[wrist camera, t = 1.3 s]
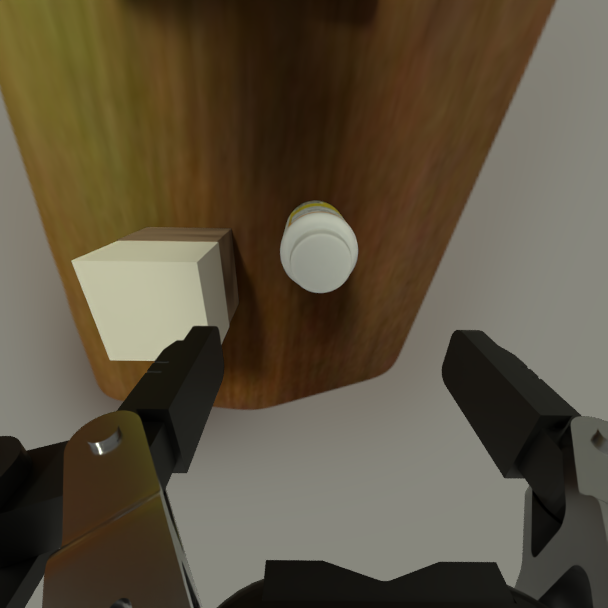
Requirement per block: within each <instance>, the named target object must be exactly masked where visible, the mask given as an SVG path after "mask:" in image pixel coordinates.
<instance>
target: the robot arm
mask: <svg viewBox="0 0 608 608" xmlns="http://www.w3.org/2000/svg"><path fill="white" fill-rule="evenodd" d="M147 371H148V372H147V373H145V374H144V376H143V377H142V378H141V380H140V381H139V382H138V383H137V385H136V386H135V387H134V389H133V390H132V391H131V393H130V394H129V395H128V397H127V398H126V399H125V401H124V402H123V403H122V405H121V406H120V407H119V409H118V410H117V411H114V412H110V413H107V414H104V415H102V416H99V417H97V418H95V419H93V420H91V421H90V422H88V423H87V424H85V425H84V426H82V427H81V428H80V429H79V430H78V431H77V432H76V433H75V434H74V435H73V436H72V437H71V439H70V440H68V441H65V442H60V443H56V444H52V445H49V446H44V447H40V448H36V449H32V450H28V451H26V450H25V448H24V447H23V445H22V444H21V443H20V441H19V440H18V439H17V438H15V437H11V436H0V608H25V606H26V604H27V603H28V601H29V599H30V598H31V596H32V594H33V592H34V591H35V589H36V587H37V586H38V584H39V582H40V581H41V579H42V577H43V575H44V584H43V601H42V608H202V605H201V602H200V598H199V595H198V593H197V589H196V586H195V583H194V580H193V577H192V573H191V570H190V567H189V564H188V561H187V558H186V554H185V551H184V548H183V545H182V541H181V537H180V534H179V531H178V527H177V524H176V521H175V517H174V514H173V511H172V507H171V504H170V501H169V497H168V494H167V491H166V486H167V484H168V481H169V479H170V477H171V474H172V473H187V472H188V469H189V466H190V463H191V461H192V458H193V456H194V453H195V451H196V448H197V445H198V443H199V440H200V437H201V435H202V432H203V429H204V427H205V424H206V422H207V419H208V416H209V414H210V411H211V409H212V406H213V403H214V401H215V398H216V395H217V393H218V390H219V388H220V385H221V382H222V379H223V374H224V360H223V353H222V346H221V339H220V332H219V329H218V327H217V326H193V327H192V328H191V330H190V331H189V333H188V334H187V335H186V337H185V338H184V340H176V341H175V342H174V343H172V344H171V345H169V346H168V347H166V348H165V349H163V351H162V352H161V353H160V355H159V356H158V357H157V359H156V360H155V363H153V364H152V365H151V366H150V368H149V369H148V370H147ZM442 378H443V381H444V384H445V385H446V387H447V389H448V390H449V392H450V393H451V395H452V396H453V398H454V400H455V401H456V403H457V404H458V406H459V407H460V409H461V411H462V412H463V414H464V415H465V417H466V418H467V420H468V421H469V423H470V424H471V426H472V428H473V429H474V431H475V432H476V434H477V436H478V437H479V439H480V440H481V442H482V444H483V445H484V447H485V448H486V450H487V451H488V453H489V455H490V456H491V458H492V459H493V461H494V462H495V464H496V466H497V467H498V469H499V470H500V472H501V473H502V475H503V477H504V478H525V479H526V481H527V482H528V484H529V487H528V488H527V490H526V492H525V506H524V529H523V553H522V566H521V570H520V574H519V577H518V579H517V582H516V585H515V588H513V587H511V586H508V585H507V584H506V582H505V580H504V578H503V576H502V574H501V572H500V570H499V568H498V566H497V564H496V562H438V563H435V564H433V565H430V566H428V567H425V568H422V569H419V570H417V571H414V572H412V573H409V574H406V575H404V576H401V577H398V578H396V579H393V580H391V581H380V580H377V579H374V578H371V577H368V576H365V575H362V574H359V573H357V572H353V571H351V570H348V569H345V568H342V567H339V566H336V565H334V564H331V563H328V562H325V561H302V560H301V561H299V560H266V565H265V576H264V579H262V580H259V581H257V582H254V583H252V584H250V585H248V586H246V587H244V588H242V589H241V590H239V591H237V592H236V593H235V594H233V595H232V596H230V597H229V598H228V599H226V600H225V601H224V602H223V603H222V604H221V605H219V606H218V607H217V608H608V421H604V420H602V419H598V418H594V417H588V416H581V415H580V414H579V413H578V412H577V411H576V410H575V409H574V408H573V407H571V406H570V405H569V404H568V403H567V402H566V401H565V400H563V398H561V397H560V396H559V395H558V394H557V393H556V392H555V391H554V390H553V389H552V388H550V387H549V386H548V385H547V384H546V383H545V382H544V381H543V380H542V379H539V378H538V376H537V375H536V374H535V373H534V372H533V371H532V370H531V369H528V368H527V366H526V365H525V364H524V363H523V362H522V361H521V360H520V359H519V358H517V357H516V356H515V355H514V354H512V353H510V352H509V351H507V350H505V349H503V348H501V347H500V346H498V345H497V344H496V343H495V342H494V341H493V340H492V339H490V338H489V337H488V336H487V335H486V334H485V333H484V332H483V331H480V330H456V331H454V333H453V334H452V336H451V339H450V343H449V346H448V349H447V353H446V356H445V359H444V362H443V365H442ZM59 548H60V549H59Z"/></svg>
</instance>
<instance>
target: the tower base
mask: <svg viewBox="0 0 608 608" xmlns="http://www.w3.org/2000/svg"><path fill="white" fill-rule="evenodd" d="M117 241H177V242H218V243H219V250H220V258H221V266H222V273H223V281H224V289H225V297H226V304H227V312H228V320H229V324H230V322H231V320H232V317H233V315H234V313H235V311H236V309H237V306H238V304H239V297H238V287H237V278H236V268H235V259H234V249H233V239H232V230H231V228H172V227H147V228H144V229H142V230H139V231H137V232H135V233H132V234H130V235H127V236H125V237H123V238H120V239H118V240H117Z"/></svg>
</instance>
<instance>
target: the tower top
mask: <svg viewBox="0 0 608 608" xmlns="http://www.w3.org/2000/svg"><path fill="white" fill-rule="evenodd" d="M72 264H73V266H74V269H75V271H76V274H77V276H78V279H79V282H80V284H81V287H82V289H83V292H84V294H85V297H86V300H87V302H88V305H89V307H90V310H91V312H92V315H93V318H94V320H95V323H96V325H97V328H98V330H99V333H100V336H101V338H102V341H103V343H104V346H105V348H106V351H107V354H108V356H109V359H110V360H137V361H155V360H156V359H157V357H158V356H159V355H160V353H161V352H162V351H163V349H165V348H166V347H168V346H169V345H171V344H172V343H174V342H175V341H176V340H184V338H185V337H186V335H187V334H188V333H189V331H190V330H191V328H192V327H193V326H217V327H218V329H219V332H220V339H221V345H222V342H223V340H224V338H225V336H226V333H227V331H228V329H229V320H228V312H227V304H226V297H225V289H224V281H223V273H222V266H221V258H220V250H219V243H218V242H177V241H116V242H114V243H112V244H109V245H107V246H105V247H102V248H100V249H98V250H95V251H93V252H91V253H88V254H86V255H84V256H81V257H79V258H76V259H74V260H72Z"/></svg>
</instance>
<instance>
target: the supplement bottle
mask: <svg viewBox="0 0 608 608" xmlns="http://www.w3.org/2000/svg"><path fill="white" fill-rule="evenodd" d="M357 256H358V244H357V240H356V237H355V234H354V233H353V231H352V229H351V228H350V226H349V225H348V224H347V222H346V221H345V220H344V218H343V217H342V216H341V214H340V213H339V212H338V210H337V209H336V208H334V207H333V206H332V205H330V204H328V203H326V202H323V201H316V200H314V201H308V202H305V203H303V204H301V205H299V206H298V207H296V208H295V209H294V210H293V212H292V213H291V214H290V216H289V218H288V220H287V223H286V227H285V230H284V234H283V238H282V241H281V247H280V257H281V262H282V265H283V268H284V270H285V271H286V273H287V274H288V276H289V277H290V278H291V279H292V280H293V281H294V282H296V283H297V284H299V285H300V286H301V287H302V288H304V289H306V290H308V291H311V292H314V293H326V292H330V291H333V290H335V289H337V288H338V287H340V286H341V285H342V284H343V283H344V282H345V281H346V280H347V278H348V277H349V275H350V273H351V272H352V270H353V269H354V267H355V264H356V261H357Z"/></svg>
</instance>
